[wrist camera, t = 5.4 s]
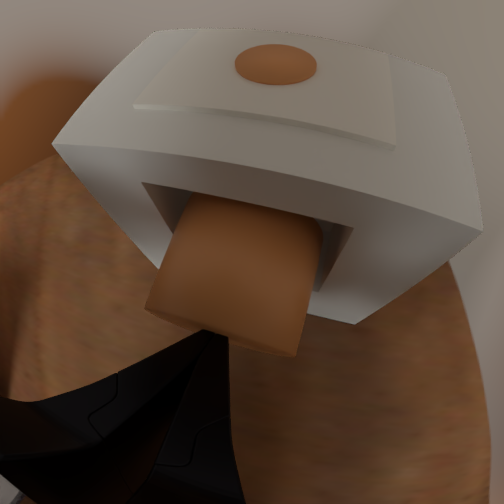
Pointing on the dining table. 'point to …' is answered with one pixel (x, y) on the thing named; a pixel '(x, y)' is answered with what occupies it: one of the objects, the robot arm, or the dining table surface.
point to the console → (285, 152)
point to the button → (239, 273)
